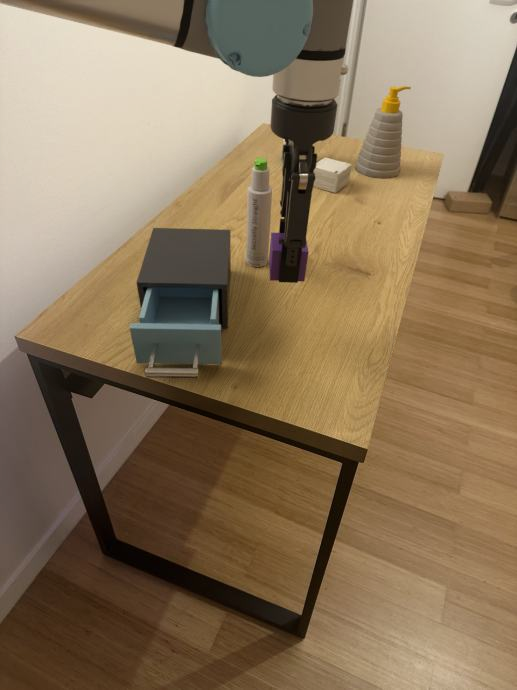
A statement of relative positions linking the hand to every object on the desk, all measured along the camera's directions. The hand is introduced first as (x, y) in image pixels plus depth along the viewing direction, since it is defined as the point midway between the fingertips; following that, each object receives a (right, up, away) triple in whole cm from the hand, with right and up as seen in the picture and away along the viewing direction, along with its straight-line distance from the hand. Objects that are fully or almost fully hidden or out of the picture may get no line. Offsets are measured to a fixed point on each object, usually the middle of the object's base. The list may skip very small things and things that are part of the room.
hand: (286, 269), depth 68 cm
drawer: (-16, -11, +4) cm, 20 cm away
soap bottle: (+29, +38, +60) cm, 76 cm away
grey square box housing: (-16, -2, +14) cm, 22 cm away
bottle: (-5, +5, +24) cm, 25 cm away
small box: (+14, +30, +51) cm, 61 cm away
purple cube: (0, 0, 0) cm, 0 cm away
